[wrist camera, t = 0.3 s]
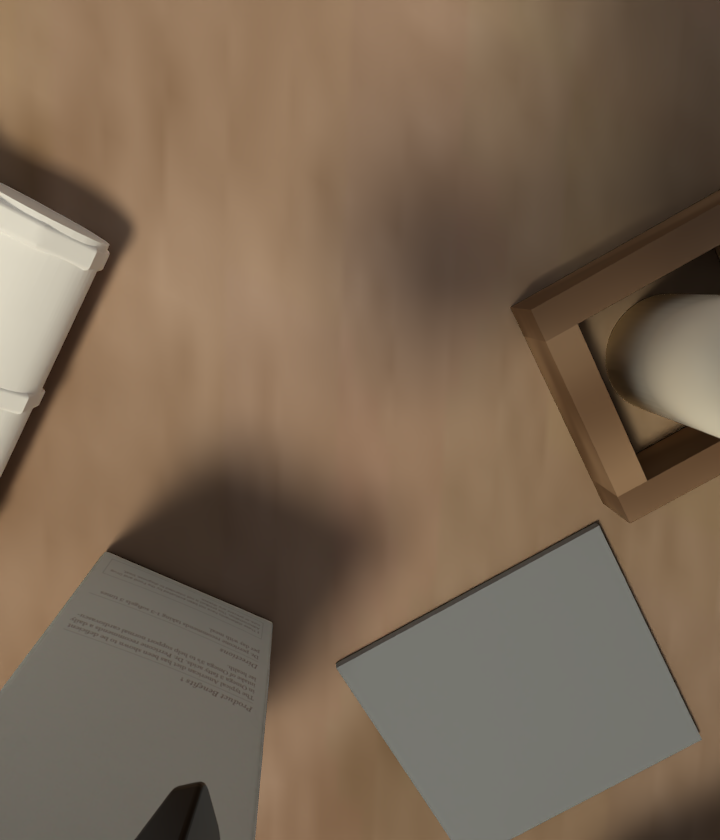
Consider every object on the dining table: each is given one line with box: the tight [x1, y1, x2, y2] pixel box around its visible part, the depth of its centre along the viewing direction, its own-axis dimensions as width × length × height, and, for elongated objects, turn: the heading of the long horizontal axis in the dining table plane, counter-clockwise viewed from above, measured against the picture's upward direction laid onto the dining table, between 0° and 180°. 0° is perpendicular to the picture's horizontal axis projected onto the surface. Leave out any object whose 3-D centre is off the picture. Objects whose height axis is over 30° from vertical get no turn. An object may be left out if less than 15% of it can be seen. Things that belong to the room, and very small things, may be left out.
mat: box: [336, 523, 702, 840], centre depth 25 cm, size 12×12×1 cm
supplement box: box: [0, 552, 273, 840], centre depth 17 cm, size 7×7×13 cm
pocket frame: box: [511, 190, 720, 523], centre depth 21 cm, size 9×9×2 cm
